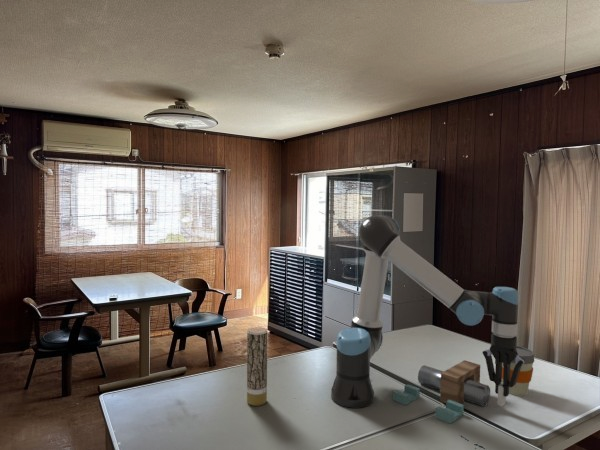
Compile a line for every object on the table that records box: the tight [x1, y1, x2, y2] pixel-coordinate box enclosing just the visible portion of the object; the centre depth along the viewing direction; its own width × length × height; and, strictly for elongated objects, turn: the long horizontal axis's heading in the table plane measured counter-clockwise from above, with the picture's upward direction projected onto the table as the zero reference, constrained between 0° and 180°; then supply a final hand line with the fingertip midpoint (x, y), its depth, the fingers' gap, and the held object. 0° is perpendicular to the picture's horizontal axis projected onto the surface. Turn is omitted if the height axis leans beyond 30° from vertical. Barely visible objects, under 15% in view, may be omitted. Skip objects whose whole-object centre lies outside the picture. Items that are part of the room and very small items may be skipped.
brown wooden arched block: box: [439, 360, 481, 405], centre depth 145 cm, size 18×6×10 cm, turn 133°
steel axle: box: [417, 365, 491, 407], centre depth 148 cm, size 24×7×7 cm, turn 43°
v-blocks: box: [392, 384, 465, 424], centre depth 138 cm, size 9×21×3 cm, turn 43°
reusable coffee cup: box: [501, 345, 535, 397], centre depth 151 cm, size 13×13×15 cm
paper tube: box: [246, 326, 268, 407], centre depth 139 cm, size 7×7×25 cm
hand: (501, 404), depth 135 cm, fingers closed
